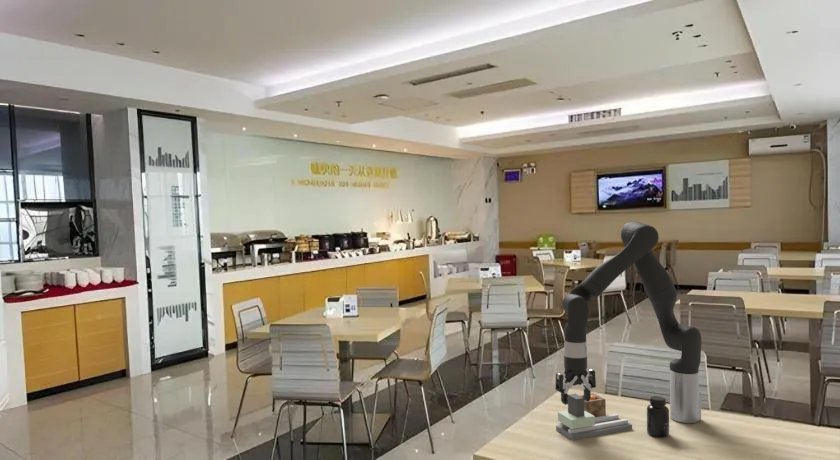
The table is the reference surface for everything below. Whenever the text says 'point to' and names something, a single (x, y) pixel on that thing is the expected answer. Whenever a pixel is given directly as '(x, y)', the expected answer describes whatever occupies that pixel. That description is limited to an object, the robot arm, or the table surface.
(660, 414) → the supplement bottle
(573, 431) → the track
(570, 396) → the carriage
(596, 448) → the table surface
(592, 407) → the cabinet
